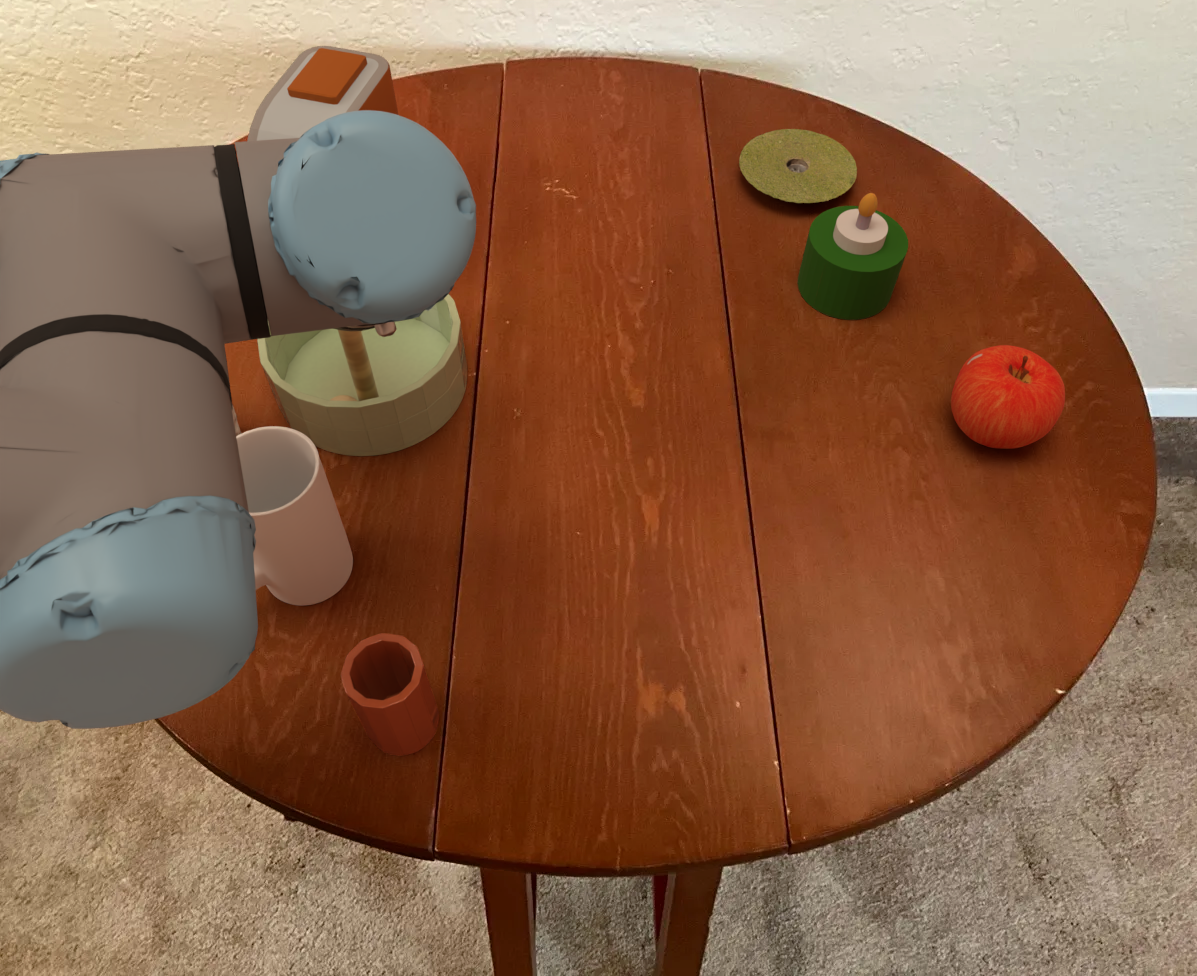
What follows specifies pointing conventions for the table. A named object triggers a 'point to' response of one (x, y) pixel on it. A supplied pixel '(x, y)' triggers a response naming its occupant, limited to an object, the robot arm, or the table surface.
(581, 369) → the table surface
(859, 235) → the candle
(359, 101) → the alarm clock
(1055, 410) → the apple
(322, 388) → the bowl
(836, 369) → the table surface
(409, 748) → the crock
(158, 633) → the robot arm
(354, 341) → the stick
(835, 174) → the mat
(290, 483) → the mug
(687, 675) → the table surface
